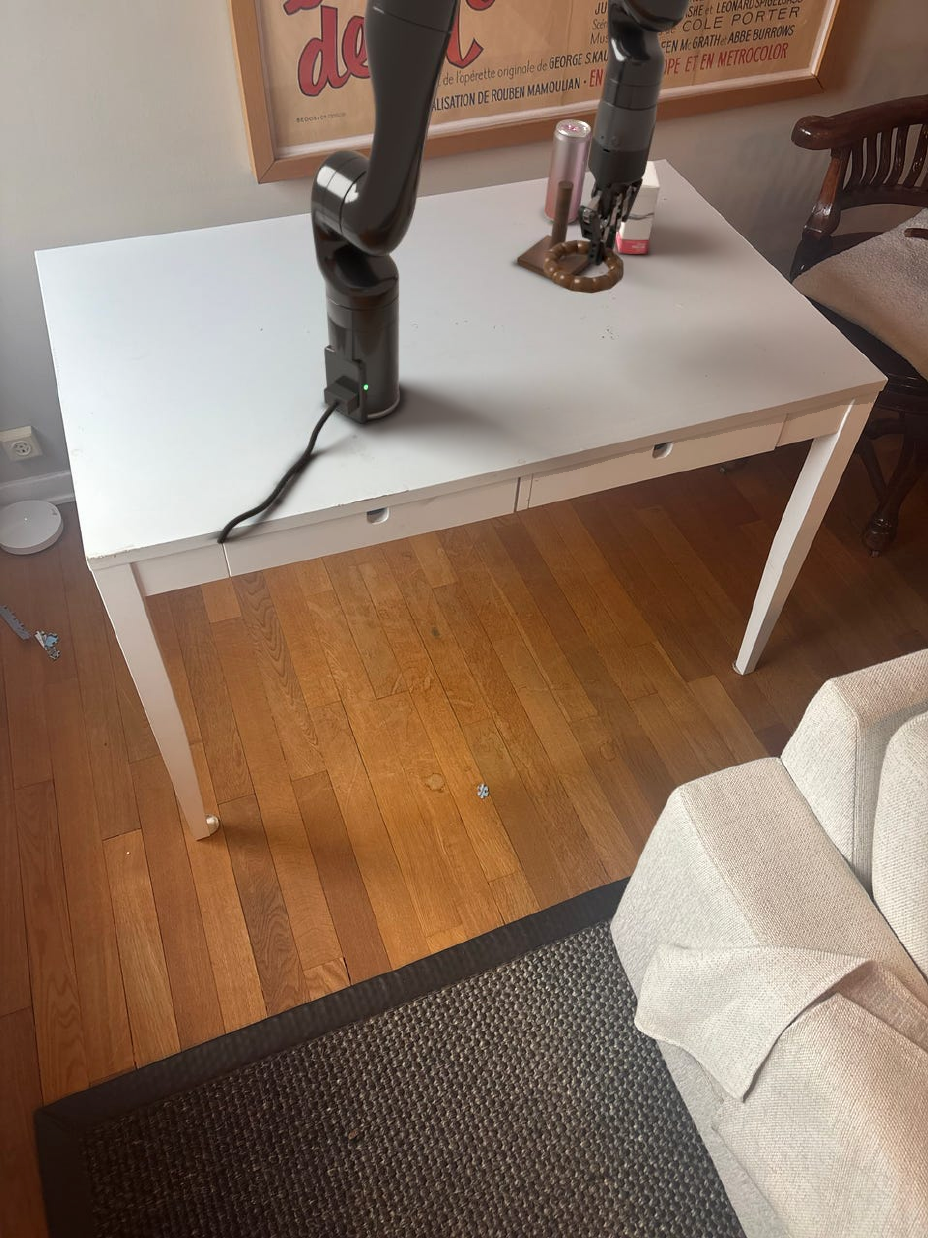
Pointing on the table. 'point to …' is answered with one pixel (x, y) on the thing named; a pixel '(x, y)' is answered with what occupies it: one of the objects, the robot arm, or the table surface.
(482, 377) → the table surface
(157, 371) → the table surface
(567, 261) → the post
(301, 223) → the table surface
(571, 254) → the ring
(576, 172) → the beverage can
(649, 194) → the ink box
